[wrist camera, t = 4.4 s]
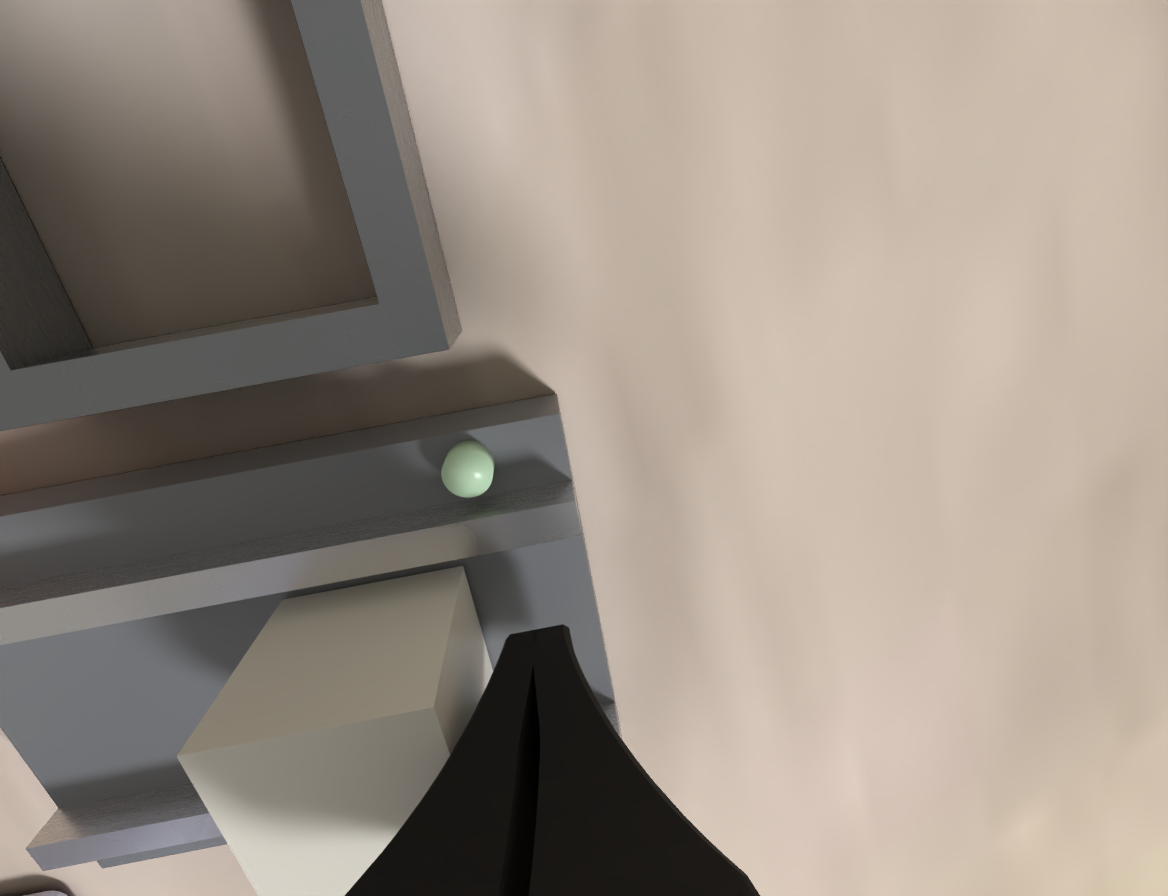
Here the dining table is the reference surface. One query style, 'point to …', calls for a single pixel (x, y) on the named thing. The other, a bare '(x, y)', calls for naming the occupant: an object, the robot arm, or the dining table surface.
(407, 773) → the block
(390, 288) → the grey square frame
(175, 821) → the breaker panel
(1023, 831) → the dining table surface
